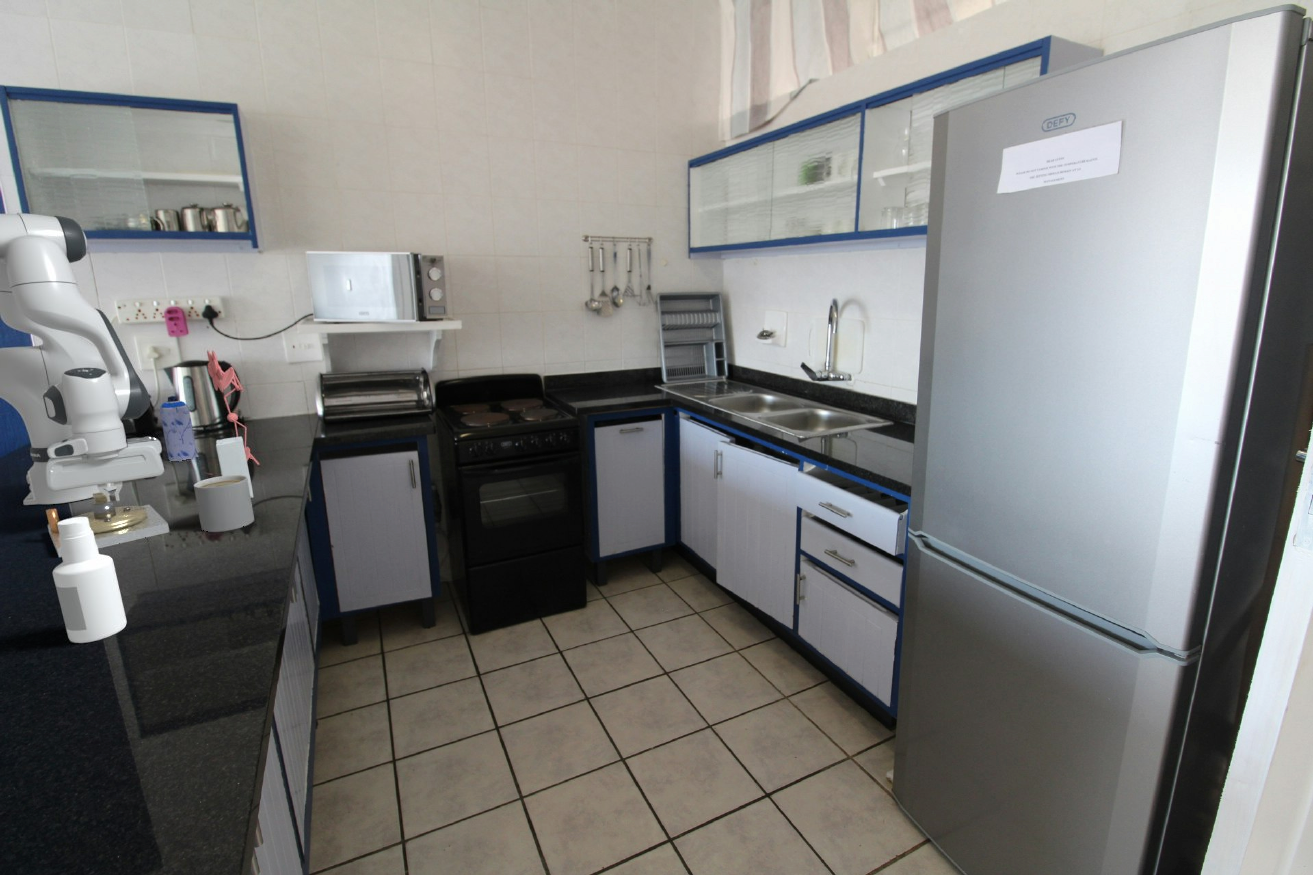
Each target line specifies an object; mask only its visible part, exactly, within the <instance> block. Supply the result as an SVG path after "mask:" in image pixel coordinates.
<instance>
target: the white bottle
mask: <svg viewBox="0 0 1313 875" xmlns="http://www.w3.org/2000/svg"><path fill="white" fill-rule="evenodd" d="M74 517H75V516H74ZM57 526H58V530H59V538H58V539H59V543H60V547H61V555H62V557H61V558H62V562H61V563H60V564H58V565H56V567H55V568H54V569H53V571H52V577H53V581H54V584H55V588H56V592H57V597H58V601H59V605H60V610H61V613H62V616H63V622H64V624H65V630H66V633H67V637H68V639H69V641H70V642H71V643H74V644H77V643H78V644H84V643H91V642H95V641H100V640H103V639H106V638H110V637H111V636H113V635H116V634H118V633H119V632H121V631H122V630H123V629H125V627H126V625H127V623H128V622H127V617H126V612H125V608H124V604H123V600H122V599H123V598H122V595H121V590H120V587H119V581H118V576H117V573H116V572H117V571H116V568H115V564H114V560H113V558H112V557H111V556H110V555H106V554H100V552H99V548H98V547H97V544H96V542H95V537H94V533H93V531H92V530H91V528H90V525H89V520H88V518H87V517H75V518H73V517H69V518H66V519H63V520H59V522H58V523H57Z"/></svg>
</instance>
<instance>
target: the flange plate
mask: <svg viewBox="0 0 1313 875" xmlns="http://www.w3.org/2000/svg"><path fill="white" fill-rule="evenodd" d="M92 498H93V501H94V504H92V505H91V507H92V508H91V509H92V511H89V512H84V513H81V514H79V515H76V516H72V518H75V517H87V518H88V520H89V525H90V528H91V530H92V531H93V533H101V532H107V531H112V530H116V529H120V528H124V527H127V526H130V525H133V524H136V523H138V522H141V521H143V520H144V519H146V518H147V511H146V508H145V507H141V506H142V505H140V506H139V505H122V506H115V502H112V501H107V497H106V495H104V494H103V493H102V492H100V493H94V494H93V497H92Z"/></svg>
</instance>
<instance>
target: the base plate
mask: <svg viewBox="0 0 1313 875" xmlns="http://www.w3.org/2000/svg"><path fill="white" fill-rule="evenodd" d="M140 506H141V507H145V508H146V511H147V518H146V519H144V520H143V521H141V522H138V523H136V524H133V525H130V526H127V527H124V528H120V529H116V530H112V531H107V532H101V533H94V537H95V542H96V544H97V547H98V549H102V548H106V547H111V546H115V545H119V543H120V544H124V543H128V542H132V541H135V540H141V539H146V538H150V537H155V536H157V535H158V536H159V535H163V534H167V533H170V528H169V523H168V521H166V520H165V519H164V518H163V517H162V515H160V514H159V513H158V512H157V511H156V510H155V508H153V507H152V506H151V504H145V505H140ZM45 512H46V513H45V514H46V516H47V517H46V518H47V520H48V524H47V529H48V533H49V536H50V539H51V541H52V543H53V546H54V548H55V551H56V553H57V555H58V558H62V555H61V547H60V543H59V539H58V538H59V530H58V526H57V523H58V522H60V519H59V515H58V510H57V508H49V509H46V510H45ZM145 537H146V538H145Z"/></svg>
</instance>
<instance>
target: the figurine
mask: <svg viewBox="0 0 1313 875" xmlns="http://www.w3.org/2000/svg"><path fill="white" fill-rule="evenodd" d="M206 355H207V358H208V359H207V360H208V363H207V372H208V375H209V376H210V378H211V380H212V384H213V386H214V389H215V391H218V389H219V391H220V392H221V393H224V390H226V388H228V387H229V385H230V384H232V385H233V386H234V387H235V388H233V389H232V390H230V391H229V392H228V393H226V394H225V395H224V396H223V400H224V402H225V405H226V408H227V411H228V414H227V416H226V417H227V420H228V421H229V422H231V423H234V428H235V434H236V437H239V434H238V429H237V428H238V427H237V424H238V425H239V426H241V427H243V428H244V449H245V454H246V459H247V462H248V461H249V459H250V460H251V459H252V460H253V461H254V462H255V464H257V466H259V465H260V463H259V461H258V460H257V459H256V458H255V456H254V455H252V454H251V449H250V448H249V447H250V446H247V426H245V425H243V424H242V423H240V422H239V421H238V419H239V417H238V416H239V415H238V414H237V413H235V412H231V410H230V406H229V402H228V401H227V397H228V396H229V395H231V394H232V393H233V392H234V391H237V392H238V391H240V392H242V393H243V392H244V389H243V387H242V384H241V382H240V381H239V379H238V377H237V374H236V373H235V369H234V367H233V366H230V367H229V368H228V369H227V370H225V372H224V370H222V367H221V365H219V362H218V361H219V360H218V358H217V355H216V353H215V351H214V350H212V351H211V352H210V351H209V350H207V351H206ZM202 468H203V469H204V468H205V467H202ZM201 472H202V473H204V474H207V475H212V473H211V472H210V473H209V472H204V471H202V470H201Z"/></svg>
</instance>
